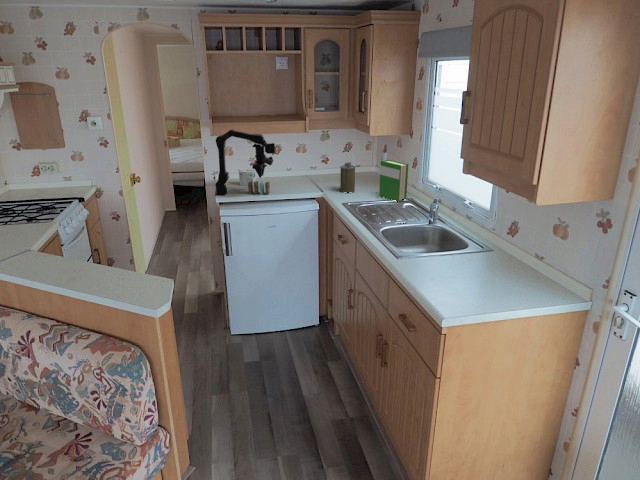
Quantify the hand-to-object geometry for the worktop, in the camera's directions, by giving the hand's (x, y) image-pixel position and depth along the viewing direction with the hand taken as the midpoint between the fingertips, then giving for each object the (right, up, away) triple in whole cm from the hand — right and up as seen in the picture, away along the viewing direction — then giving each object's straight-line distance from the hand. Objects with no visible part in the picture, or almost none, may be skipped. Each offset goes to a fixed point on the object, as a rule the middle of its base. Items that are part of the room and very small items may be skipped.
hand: (261, 176), depth 312 cm
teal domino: (0, -11, +4) cm, 12 cm away
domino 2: (-4, -11, +5) cm, 13 cm away
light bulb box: (-14, -2, +28) cm, 31 cm away
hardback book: (+88, -16, -8) cm, 90 cm away
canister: (+59, -9, +9) cm, 60 cm away
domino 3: (+4, -11, +4) cm, 13 cm away
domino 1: (-8, -11, +6) cm, 14 cm away
